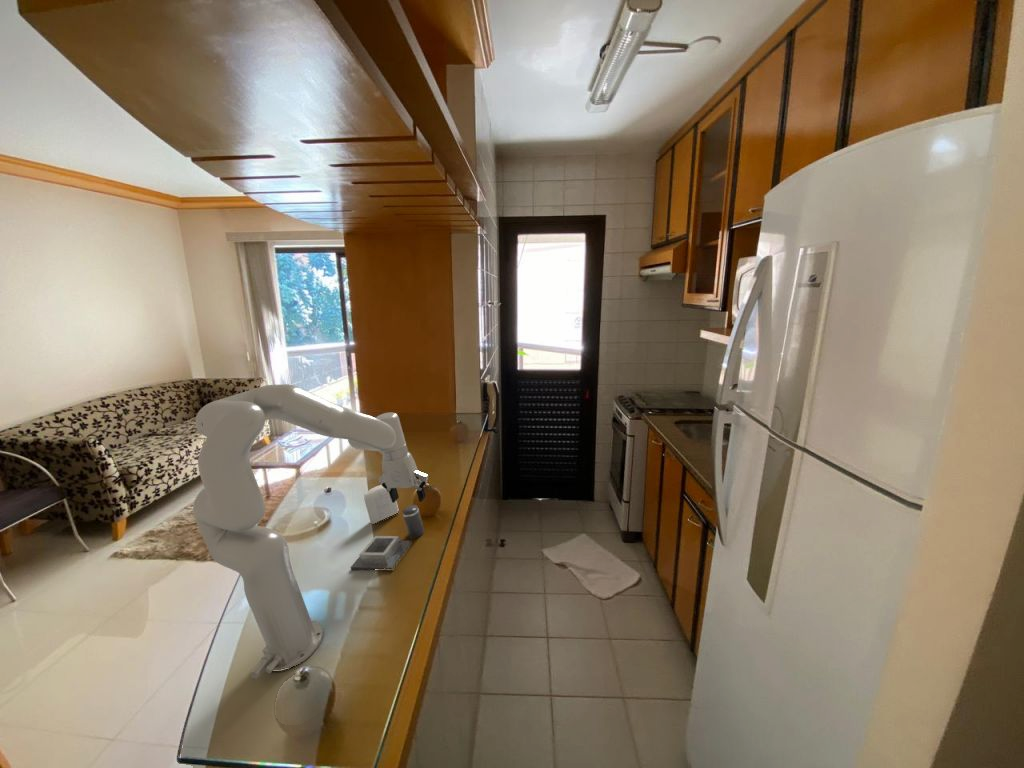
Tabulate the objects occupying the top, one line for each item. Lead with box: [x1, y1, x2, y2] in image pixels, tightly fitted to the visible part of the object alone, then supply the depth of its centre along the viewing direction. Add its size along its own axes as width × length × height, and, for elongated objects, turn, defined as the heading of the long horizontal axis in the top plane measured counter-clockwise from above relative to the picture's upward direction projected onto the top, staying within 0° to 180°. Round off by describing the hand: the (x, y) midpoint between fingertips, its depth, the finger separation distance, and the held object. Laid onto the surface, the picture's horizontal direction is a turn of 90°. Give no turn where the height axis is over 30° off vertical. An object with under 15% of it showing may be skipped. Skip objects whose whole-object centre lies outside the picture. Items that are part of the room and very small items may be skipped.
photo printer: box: [363, 484, 400, 525], centre depth 141 cm, size 10×4×12 cm, turn 123°
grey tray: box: [350, 535, 413, 571], centre depth 120 cm, size 12×14×4 cm
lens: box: [401, 504, 425, 539], centre depth 128 cm, size 5×5×9 cm
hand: (409, 499), depth 127 cm, fingers open, 9 cm apart
